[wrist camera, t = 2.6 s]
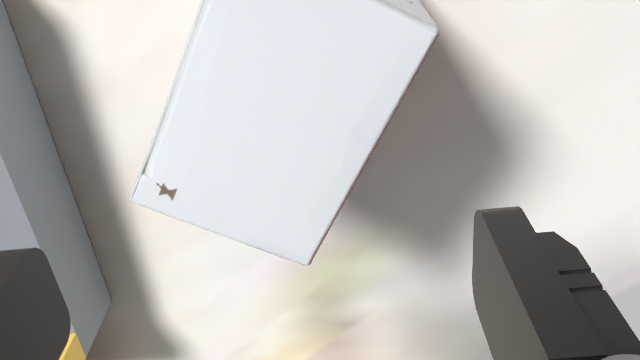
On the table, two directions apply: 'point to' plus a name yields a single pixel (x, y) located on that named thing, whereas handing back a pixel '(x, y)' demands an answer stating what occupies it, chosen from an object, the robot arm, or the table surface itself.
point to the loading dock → (44, 199)
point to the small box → (280, 115)
